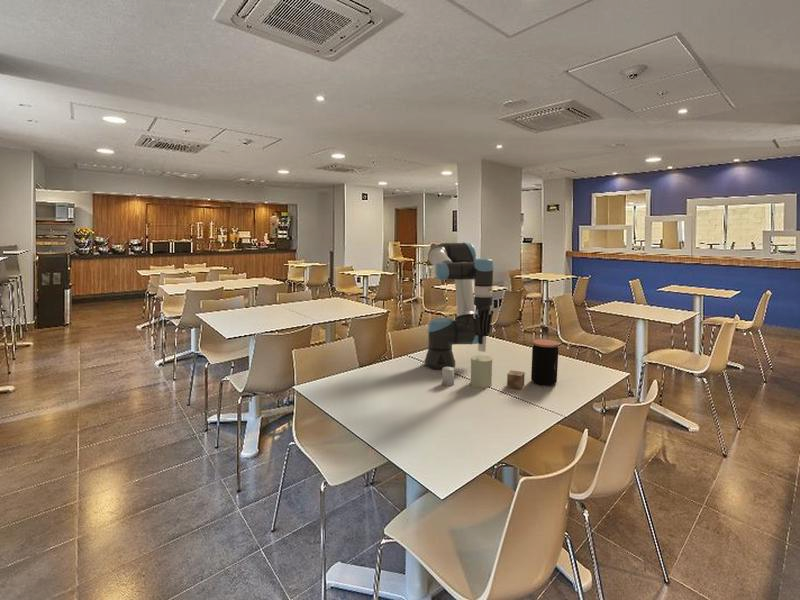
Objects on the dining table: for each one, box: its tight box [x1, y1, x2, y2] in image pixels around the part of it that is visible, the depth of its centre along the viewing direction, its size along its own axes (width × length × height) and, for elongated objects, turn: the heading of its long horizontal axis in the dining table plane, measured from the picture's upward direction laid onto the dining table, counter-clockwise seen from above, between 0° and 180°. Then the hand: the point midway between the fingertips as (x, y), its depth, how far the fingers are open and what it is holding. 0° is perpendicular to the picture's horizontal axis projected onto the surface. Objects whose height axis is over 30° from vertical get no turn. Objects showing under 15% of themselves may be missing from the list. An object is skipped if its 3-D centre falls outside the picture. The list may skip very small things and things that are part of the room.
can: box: [469, 354, 493, 389], centre depth 185 cm, size 9×9×12 cm
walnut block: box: [506, 369, 526, 391], centre depth 182 cm, size 6×6×6 cm
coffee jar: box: [530, 338, 560, 387], centre depth 186 cm, size 11×11×18 cm
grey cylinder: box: [441, 367, 455, 387], centre depth 185 cm, size 5×5×7 cm
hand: (481, 350), depth 183 cm, fingers closed
